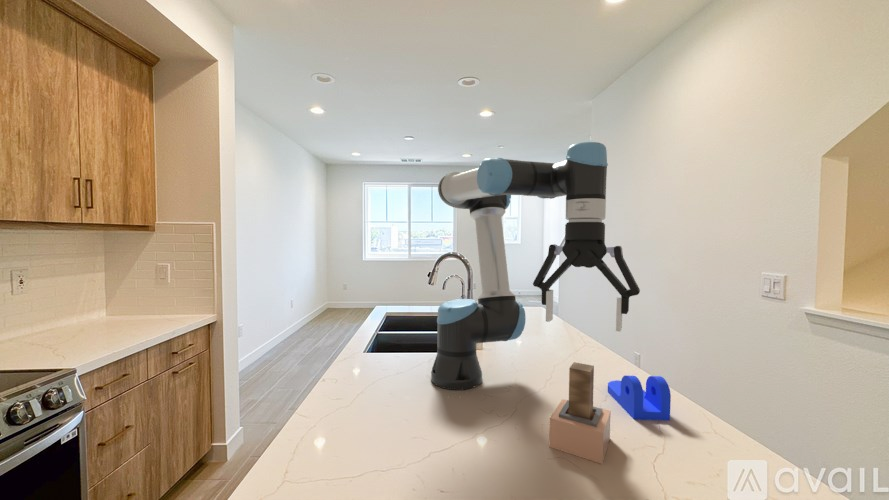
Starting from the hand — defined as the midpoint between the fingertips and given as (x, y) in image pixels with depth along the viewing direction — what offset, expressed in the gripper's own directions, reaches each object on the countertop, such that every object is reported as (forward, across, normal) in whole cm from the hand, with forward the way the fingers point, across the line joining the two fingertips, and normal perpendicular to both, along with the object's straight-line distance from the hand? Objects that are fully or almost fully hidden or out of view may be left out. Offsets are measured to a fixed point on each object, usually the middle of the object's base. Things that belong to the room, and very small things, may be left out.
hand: (582, 325), depth 73 cm
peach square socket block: (+25, 0, 0) cm, 25 cm away
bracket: (+25, +8, +27) cm, 37 cm away
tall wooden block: (+23, 0, 0) cm, 23 cm away
